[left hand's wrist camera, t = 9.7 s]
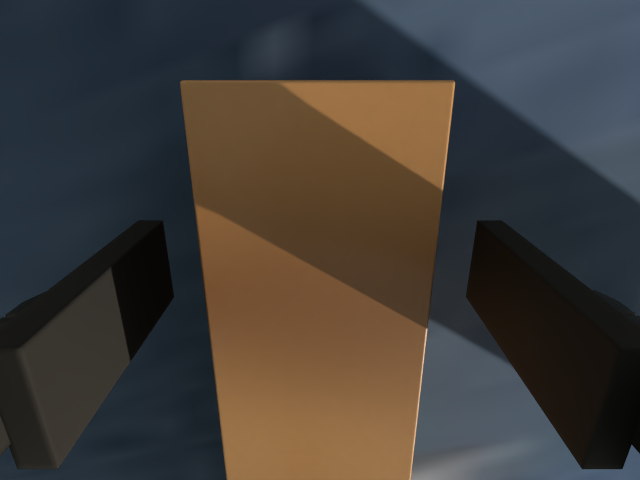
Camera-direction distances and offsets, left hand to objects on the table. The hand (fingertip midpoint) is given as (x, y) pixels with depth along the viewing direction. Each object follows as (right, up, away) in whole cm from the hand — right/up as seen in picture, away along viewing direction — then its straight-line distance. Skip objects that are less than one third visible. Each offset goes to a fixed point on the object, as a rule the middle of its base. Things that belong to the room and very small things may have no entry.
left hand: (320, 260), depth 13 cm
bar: (0, -25, +13) cm, 28 cm away
